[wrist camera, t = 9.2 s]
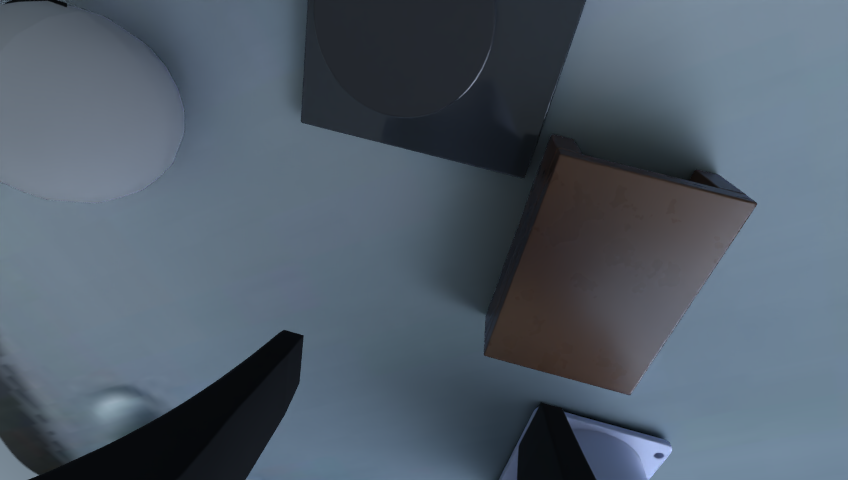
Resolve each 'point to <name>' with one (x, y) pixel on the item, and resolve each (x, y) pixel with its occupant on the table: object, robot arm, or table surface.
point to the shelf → (606, 265)
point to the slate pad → (479, 107)
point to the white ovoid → (82, 105)
